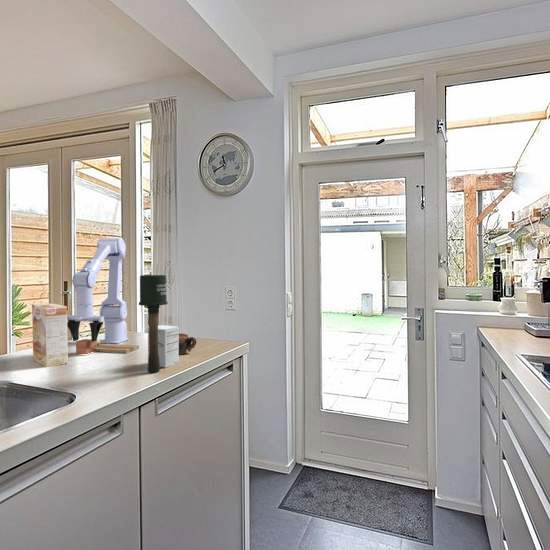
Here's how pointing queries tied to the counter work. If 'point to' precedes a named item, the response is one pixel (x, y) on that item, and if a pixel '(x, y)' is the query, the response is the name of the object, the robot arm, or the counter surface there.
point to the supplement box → (167, 345)
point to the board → (115, 348)
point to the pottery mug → (186, 343)
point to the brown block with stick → (85, 346)
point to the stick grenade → (153, 312)
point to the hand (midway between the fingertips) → (85, 340)
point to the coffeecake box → (49, 334)
